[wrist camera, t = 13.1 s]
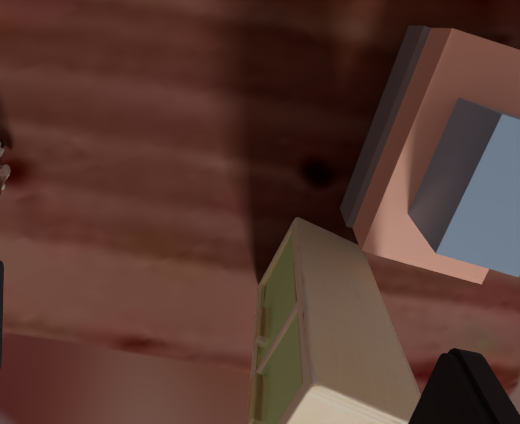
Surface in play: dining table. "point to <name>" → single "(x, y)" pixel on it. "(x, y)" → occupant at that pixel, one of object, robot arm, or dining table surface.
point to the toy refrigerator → (325, 339)
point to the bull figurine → (3, 172)
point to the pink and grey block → (422, 137)
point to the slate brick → (474, 190)
